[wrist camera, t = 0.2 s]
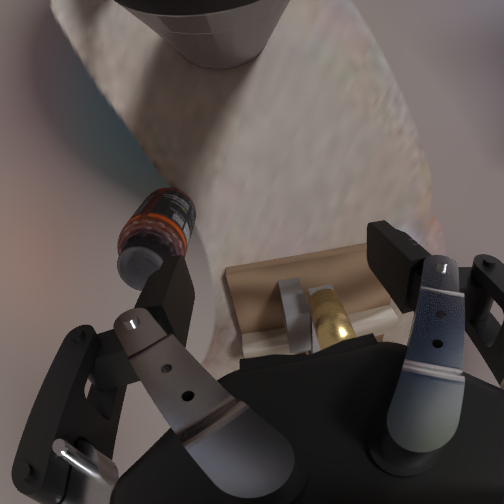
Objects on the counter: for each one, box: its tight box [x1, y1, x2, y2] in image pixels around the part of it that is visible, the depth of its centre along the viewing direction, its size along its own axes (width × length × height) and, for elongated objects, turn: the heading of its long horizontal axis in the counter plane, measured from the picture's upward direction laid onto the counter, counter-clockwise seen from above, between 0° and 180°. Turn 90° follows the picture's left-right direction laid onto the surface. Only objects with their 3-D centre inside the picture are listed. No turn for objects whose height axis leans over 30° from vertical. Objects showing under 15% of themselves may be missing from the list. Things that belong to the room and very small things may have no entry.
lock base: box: [226, 243, 398, 358], centre depth 35 cm, size 22×21×8 cm
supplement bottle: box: [117, 188, 196, 291], centre depth 24 cm, size 6×6×11 cm
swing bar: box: [307, 284, 357, 354], centre depth 27 cm, size 13×3×7 cm, turn 10°
